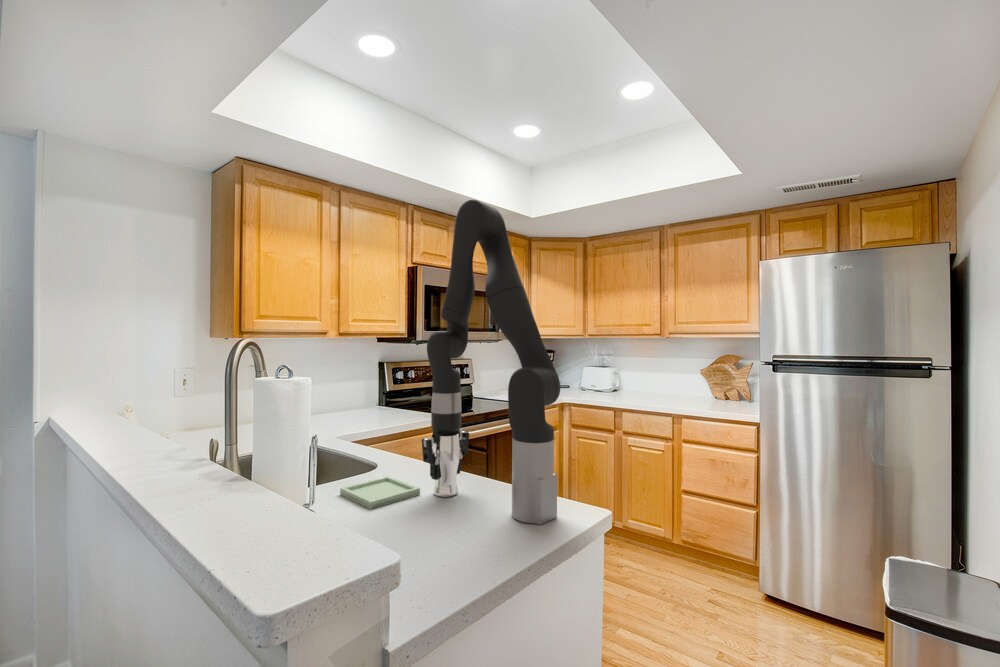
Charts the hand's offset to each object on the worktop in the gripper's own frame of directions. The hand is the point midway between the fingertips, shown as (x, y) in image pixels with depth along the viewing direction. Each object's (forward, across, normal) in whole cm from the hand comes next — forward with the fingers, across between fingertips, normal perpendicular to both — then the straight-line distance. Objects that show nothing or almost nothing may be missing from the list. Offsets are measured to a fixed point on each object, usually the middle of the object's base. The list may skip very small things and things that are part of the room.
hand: (446, 475), depth 120 cm
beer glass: (+4, 0, 0) cm, 4 cm away
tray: (+4, -12, +11) cm, 17 cm away
